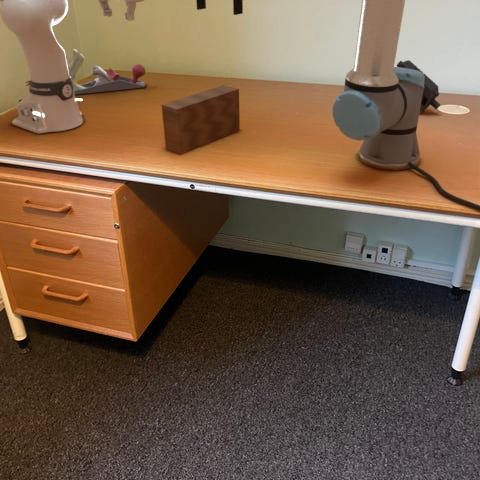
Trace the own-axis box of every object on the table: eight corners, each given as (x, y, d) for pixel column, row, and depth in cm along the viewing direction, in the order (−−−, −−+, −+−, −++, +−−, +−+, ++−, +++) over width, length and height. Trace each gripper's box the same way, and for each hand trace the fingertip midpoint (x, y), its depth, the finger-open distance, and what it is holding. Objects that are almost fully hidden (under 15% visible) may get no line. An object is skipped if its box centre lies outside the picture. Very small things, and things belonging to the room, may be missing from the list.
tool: (378, 91, 179) (405, 54, 169) (421, 128, 175) (451, 93, 164) (370, 95, 176) (396, 58, 165) (413, 134, 171) (443, 98, 161)
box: (224, 125, 163) (223, 84, 156) (239, 130, 159) (239, 88, 152) (165, 148, 148) (161, 104, 141) (180, 154, 144) (176, 109, 138)
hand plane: (62, 90, 197) (53, 48, 189) (145, 82, 205) (140, 41, 197) (62, 96, 191) (54, 53, 184) (148, 87, 199) (143, 45, 191)
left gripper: (76, -43, 134) (85, 15, 142) (125, -40, 122) (133, 24, 130) (97, -45, 138) (105, 12, 146) (147, -42, 126) (153, 20, 134)
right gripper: (170, -82, 135) (177, 8, 146) (243, -82, 120) (244, 18, 131) (192, -83, 139) (197, 5, 150) (265, -83, 125) (264, 14, 136)
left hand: (118, 18), depth 138 cm, fingers open, 8 cm apart
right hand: (219, 11), depth 141 cm, fingers open, 13 cm apart
